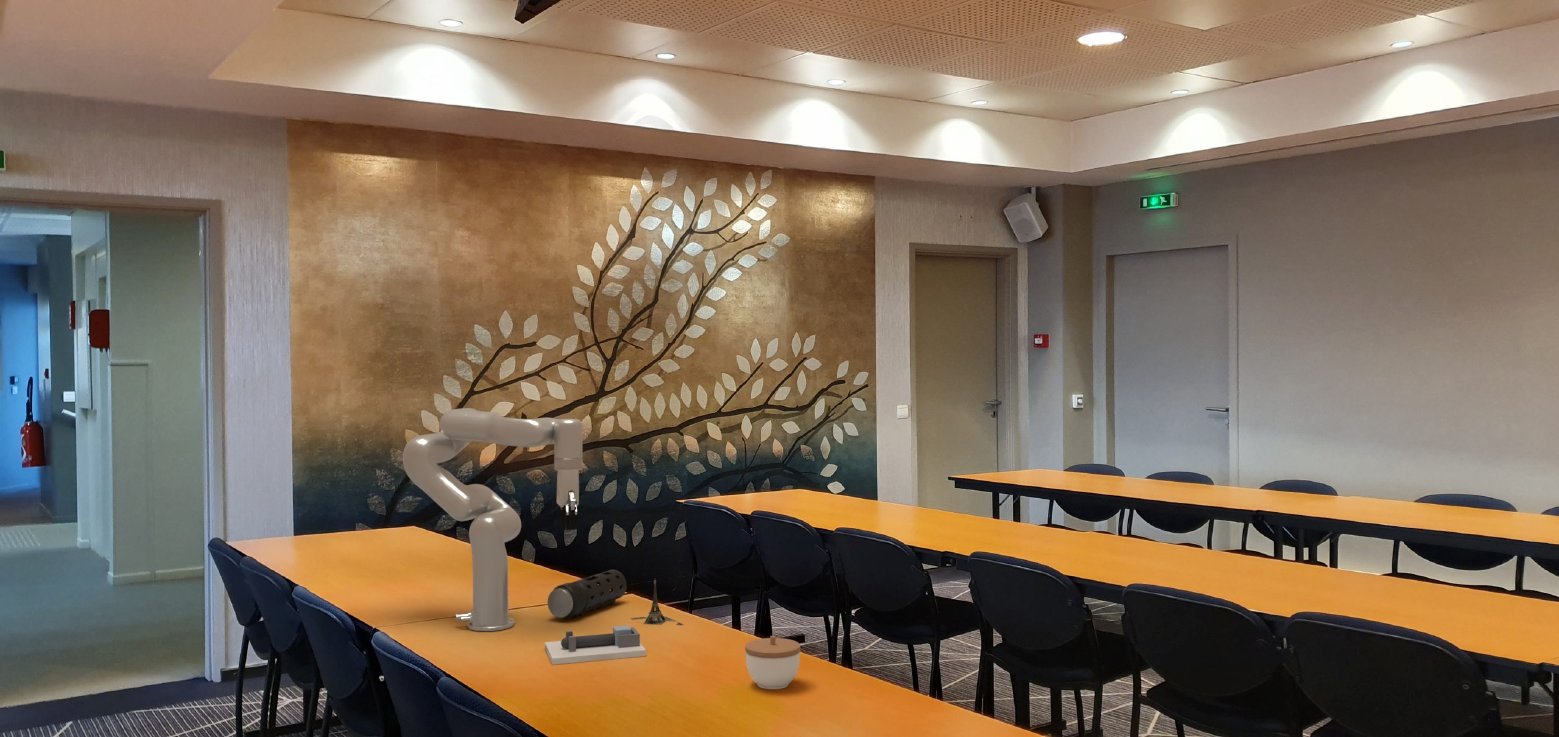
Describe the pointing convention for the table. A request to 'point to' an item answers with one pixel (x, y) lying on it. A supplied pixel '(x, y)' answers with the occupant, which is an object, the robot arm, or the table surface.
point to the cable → (598, 638)
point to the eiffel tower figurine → (655, 613)
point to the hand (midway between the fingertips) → (568, 526)
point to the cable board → (595, 649)
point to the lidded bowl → (772, 661)
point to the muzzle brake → (586, 594)
